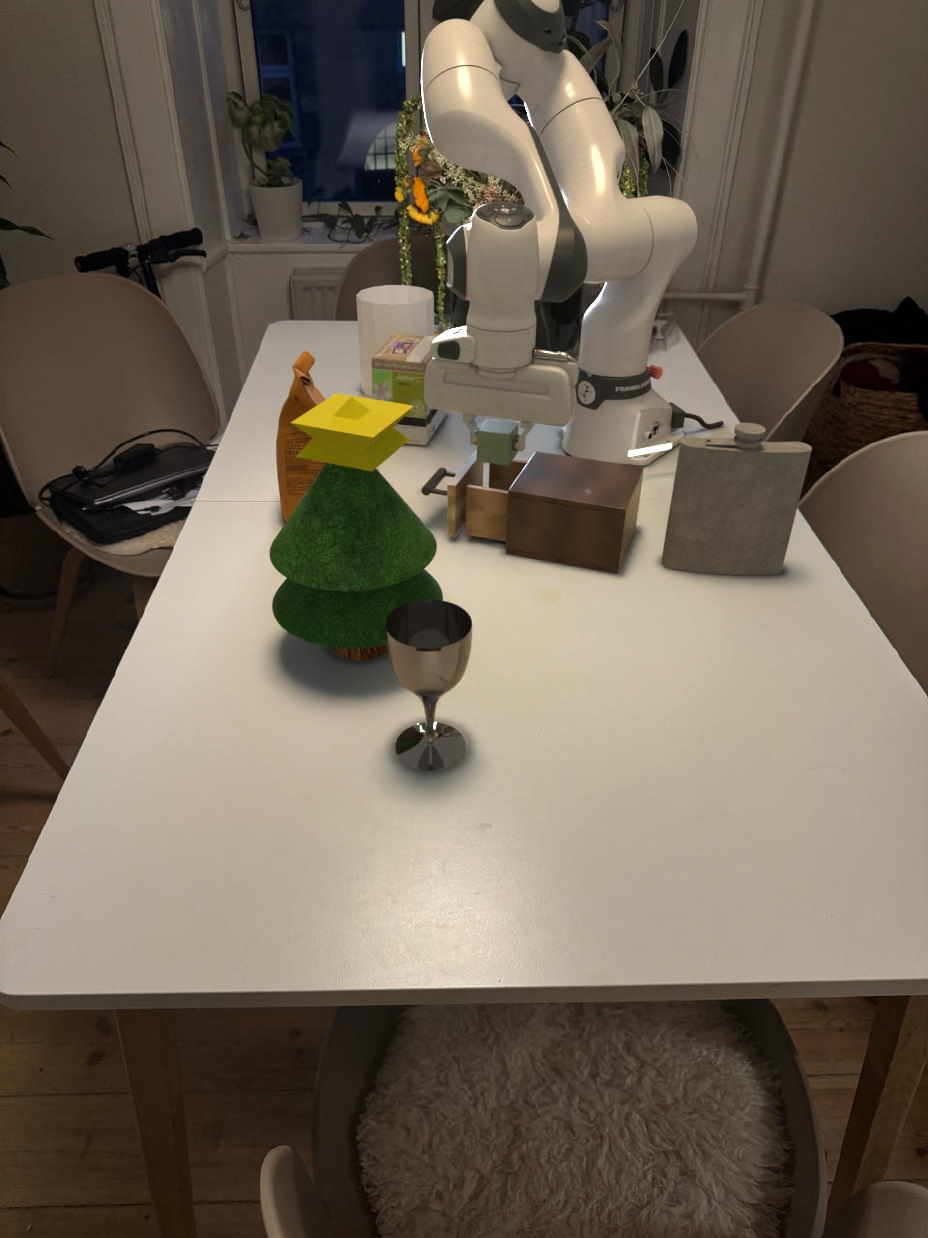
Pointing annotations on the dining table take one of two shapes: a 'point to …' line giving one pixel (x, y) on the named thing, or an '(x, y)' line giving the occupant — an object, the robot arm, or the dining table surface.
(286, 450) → the coffee package
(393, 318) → the container
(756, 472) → the hip flask
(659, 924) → the dining table surface
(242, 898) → the dining table surface
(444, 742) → the wine glass
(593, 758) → the dining table surface
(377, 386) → the tea box
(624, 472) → the cabinet
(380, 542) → the decorative tree
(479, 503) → the drawer
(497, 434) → the block
